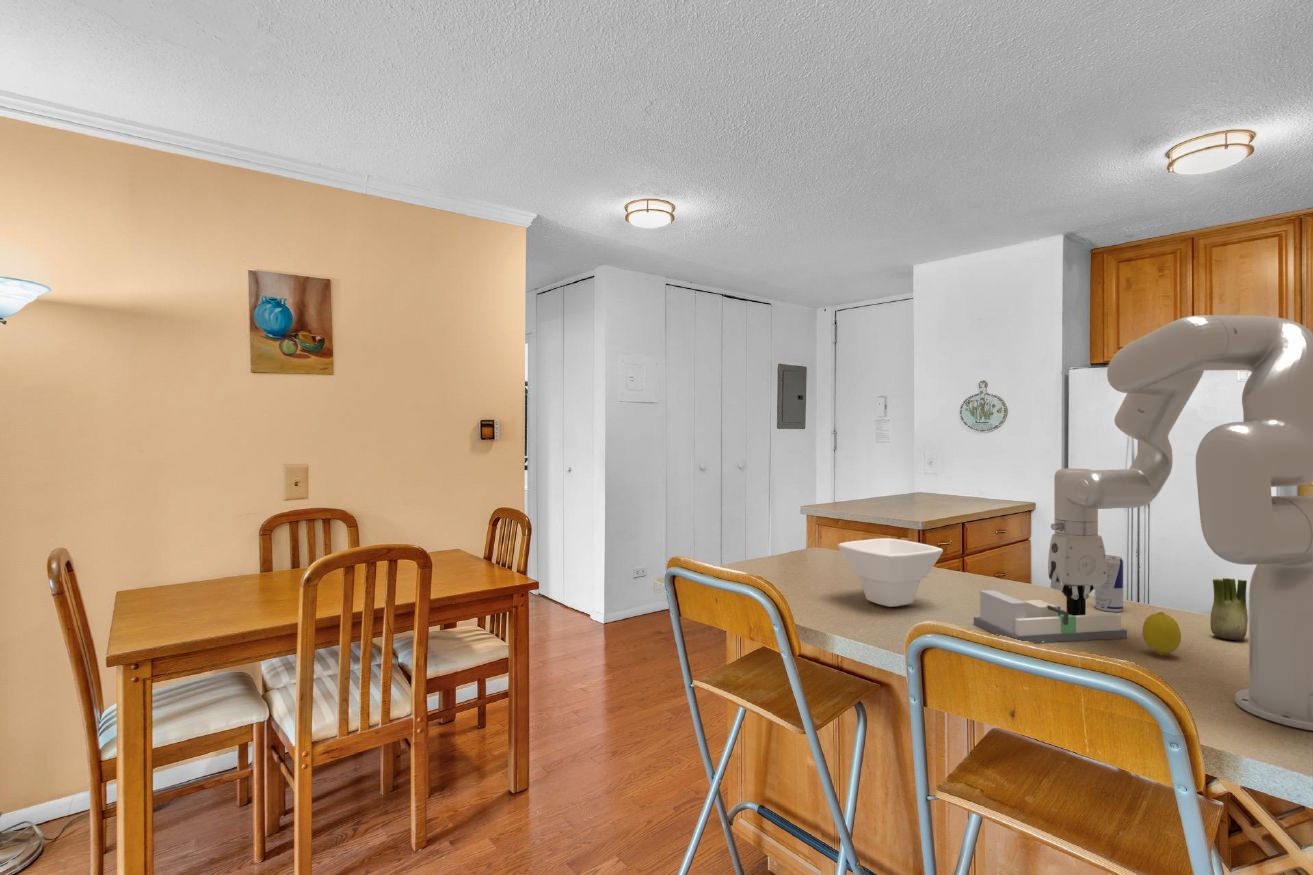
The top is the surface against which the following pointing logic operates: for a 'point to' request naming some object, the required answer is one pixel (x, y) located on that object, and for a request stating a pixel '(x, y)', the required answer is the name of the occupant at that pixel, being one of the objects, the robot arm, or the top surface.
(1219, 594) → the fennel bulb
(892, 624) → the top surface
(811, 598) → the top surface
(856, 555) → the bowl
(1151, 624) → the lemon
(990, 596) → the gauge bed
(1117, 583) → the energy drink
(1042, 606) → the carriage
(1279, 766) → the top surface
